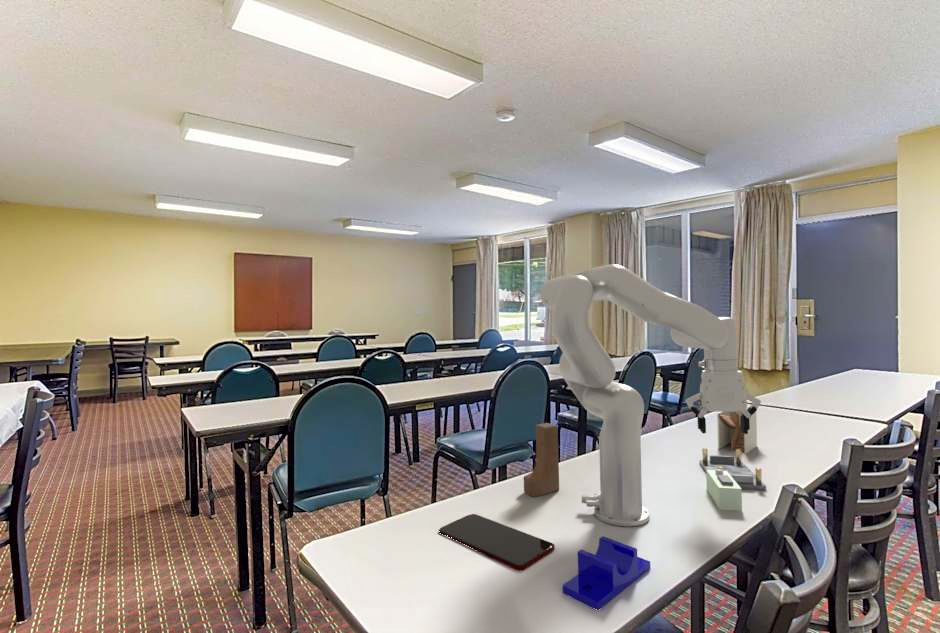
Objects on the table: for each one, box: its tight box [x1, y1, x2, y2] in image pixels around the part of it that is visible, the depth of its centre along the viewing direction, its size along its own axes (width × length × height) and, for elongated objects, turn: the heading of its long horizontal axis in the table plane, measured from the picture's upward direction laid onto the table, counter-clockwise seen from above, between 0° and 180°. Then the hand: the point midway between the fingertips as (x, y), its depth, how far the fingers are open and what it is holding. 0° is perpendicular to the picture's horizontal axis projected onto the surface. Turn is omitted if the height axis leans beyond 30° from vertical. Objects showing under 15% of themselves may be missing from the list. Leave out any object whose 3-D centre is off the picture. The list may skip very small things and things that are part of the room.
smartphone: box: [438, 513, 555, 571], centre depth 105 cm, size 12×2×25 cm
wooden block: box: [523, 422, 560, 498], centre depth 131 cm, size 9×4×18 cm, turn 119°
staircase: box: [716, 411, 758, 455], centre depth 165 cm, size 9×11×17 cm
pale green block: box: [705, 469, 743, 511], centre depth 123 cm, size 5×13×6 cm, turn 166°
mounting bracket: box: [562, 535, 651, 611], centre depth 88 cm, size 18×7×6 cm, turn 133°
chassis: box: [698, 447, 767, 491], centre depth 139 cm, size 12×20×5 cm, turn 167°
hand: (723, 432), depth 123 cm, fingers open, 9 cm apart
